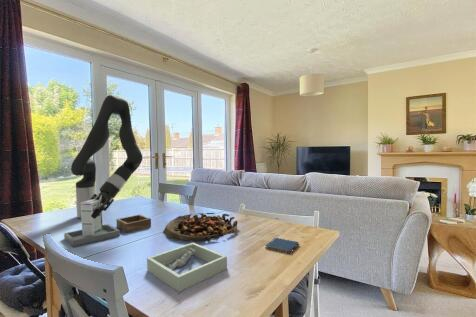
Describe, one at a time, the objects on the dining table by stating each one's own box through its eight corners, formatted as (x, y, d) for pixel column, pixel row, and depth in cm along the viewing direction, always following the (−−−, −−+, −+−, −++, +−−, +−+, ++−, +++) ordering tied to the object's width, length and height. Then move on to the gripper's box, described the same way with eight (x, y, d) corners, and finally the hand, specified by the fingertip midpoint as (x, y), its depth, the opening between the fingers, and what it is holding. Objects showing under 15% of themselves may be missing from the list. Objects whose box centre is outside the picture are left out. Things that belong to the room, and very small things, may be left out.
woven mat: (290, 256, 93) (290, 250, 93) (264, 250, 98) (264, 244, 98) (300, 246, 101) (300, 241, 101) (275, 241, 107) (275, 236, 107)
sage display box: (147, 270, 82) (146, 258, 82) (193, 253, 95) (193, 242, 95) (178, 291, 70) (178, 277, 69) (227, 268, 83) (226, 256, 82)
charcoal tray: (64, 238, 112) (64, 233, 112) (108, 229, 125) (108, 224, 125) (73, 247, 102) (72, 241, 102) (119, 235, 115) (119, 230, 115)
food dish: (246, 225, 132) (246, 210, 132) (220, 251, 101) (221, 232, 101) (186, 217, 144) (186, 203, 143) (147, 238, 113) (147, 221, 112)
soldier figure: (160, 273, 82) (179, 248, 93) (171, 283, 82) (190, 257, 93) (171, 261, 78) (190, 237, 89) (183, 272, 78) (200, 246, 89)
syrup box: (93, 235, 110) (92, 202, 109) (81, 235, 111) (80, 201, 110) (103, 231, 116) (101, 199, 115) (91, 230, 117) (90, 199, 116)
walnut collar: (116, 227, 127) (116, 219, 127) (140, 221, 136) (139, 214, 136) (126, 232, 119) (126, 224, 119) (151, 226, 128) (150, 218, 128)
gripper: (99, 180, 122) (73, 209, 113) (116, 182, 114) (90, 213, 105) (110, 189, 127) (86, 218, 118) (127, 191, 119) (103, 223, 110)
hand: (88, 216), depth 112 cm, fingers closed on syrup box, 7 cm apart
